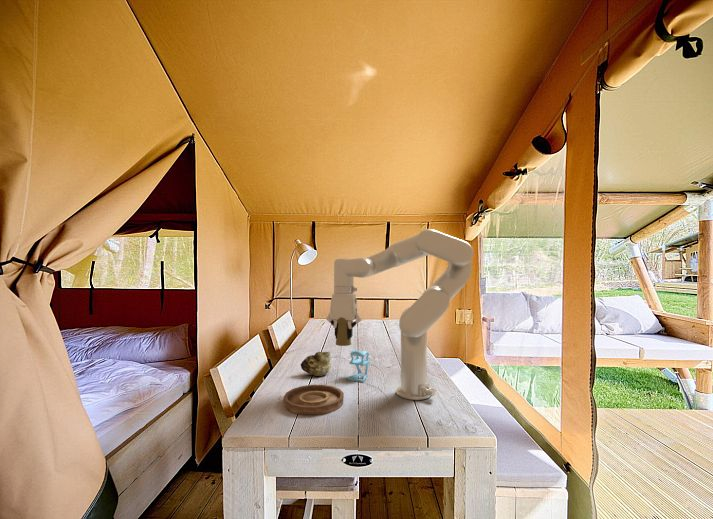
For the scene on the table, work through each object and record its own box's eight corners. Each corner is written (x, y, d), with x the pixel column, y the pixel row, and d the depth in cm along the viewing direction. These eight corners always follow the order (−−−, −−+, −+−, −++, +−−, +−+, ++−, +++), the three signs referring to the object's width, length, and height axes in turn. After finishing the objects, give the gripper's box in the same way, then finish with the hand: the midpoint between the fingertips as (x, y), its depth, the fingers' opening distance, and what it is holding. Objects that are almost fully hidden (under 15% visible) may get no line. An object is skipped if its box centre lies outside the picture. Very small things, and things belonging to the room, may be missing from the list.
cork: (343, 341, 131) (343, 313, 132) (354, 343, 127) (354, 315, 128) (332, 344, 127) (332, 315, 127) (344, 346, 123) (344, 316, 123)
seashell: (314, 369, 151) (314, 347, 151) (335, 373, 145) (335, 350, 145) (299, 375, 142) (299, 352, 142) (320, 380, 136) (320, 355, 136)
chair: (372, 376, 141) (372, 348, 141) (363, 382, 133) (363, 352, 134) (356, 374, 144) (356, 346, 145) (346, 379, 137) (347, 350, 137)
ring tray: (355, 402, 113) (355, 395, 113) (307, 421, 99) (307, 413, 99) (319, 387, 128) (319, 380, 128) (272, 402, 114) (273, 394, 114)
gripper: (367, 290, 129) (367, 337, 128) (327, 289, 134) (326, 335, 133) (361, 291, 122) (361, 342, 121) (319, 290, 126) (319, 339, 126)
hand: (343, 337), depth 127 cm, fingers closed on cork, 4 cm apart
